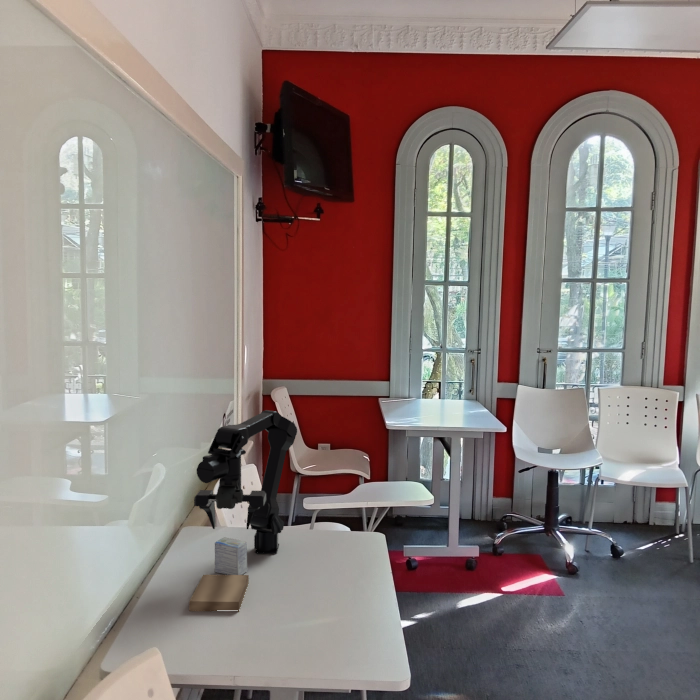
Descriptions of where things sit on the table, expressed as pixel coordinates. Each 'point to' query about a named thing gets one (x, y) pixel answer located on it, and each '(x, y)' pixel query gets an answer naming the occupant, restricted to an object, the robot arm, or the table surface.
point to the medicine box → (230, 556)
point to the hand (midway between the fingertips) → (230, 528)
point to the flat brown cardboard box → (219, 593)
